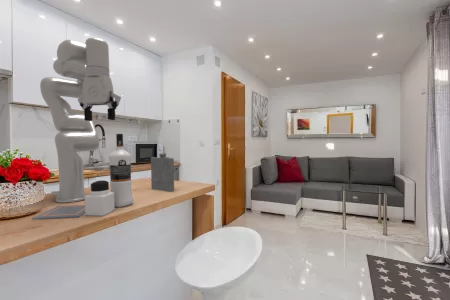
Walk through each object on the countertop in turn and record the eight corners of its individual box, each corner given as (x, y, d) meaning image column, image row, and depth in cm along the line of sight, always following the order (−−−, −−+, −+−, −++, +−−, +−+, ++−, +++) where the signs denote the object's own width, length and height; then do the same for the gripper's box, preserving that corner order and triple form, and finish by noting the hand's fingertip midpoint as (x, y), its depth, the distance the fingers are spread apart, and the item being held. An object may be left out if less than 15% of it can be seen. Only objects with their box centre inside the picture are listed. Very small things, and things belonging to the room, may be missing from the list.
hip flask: (150, 188, 129) (149, 153, 128) (155, 187, 132) (155, 152, 131) (171, 191, 120) (170, 153, 119) (176, 190, 124) (175, 153, 123)
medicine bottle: (114, 210, 89) (114, 179, 89) (103, 216, 82) (102, 183, 82) (97, 209, 90) (96, 179, 90) (84, 215, 83) (83, 182, 82)
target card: (32, 219, 79) (31, 218, 79) (57, 207, 94) (57, 205, 94) (78, 217, 81) (78, 215, 81) (96, 205, 96) (96, 204, 96)
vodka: (132, 200, 103) (130, 134, 102) (134, 205, 95) (132, 133, 94) (109, 203, 99) (107, 133, 98) (109, 208, 91) (107, 133, 90)
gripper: (69, 72, 83) (71, 120, 84) (112, 69, 80) (114, 118, 81) (85, 78, 90) (87, 121, 91) (125, 75, 87) (126, 120, 88)
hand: (99, 120), depth 86 cm, fingers open, 9 cm apart
